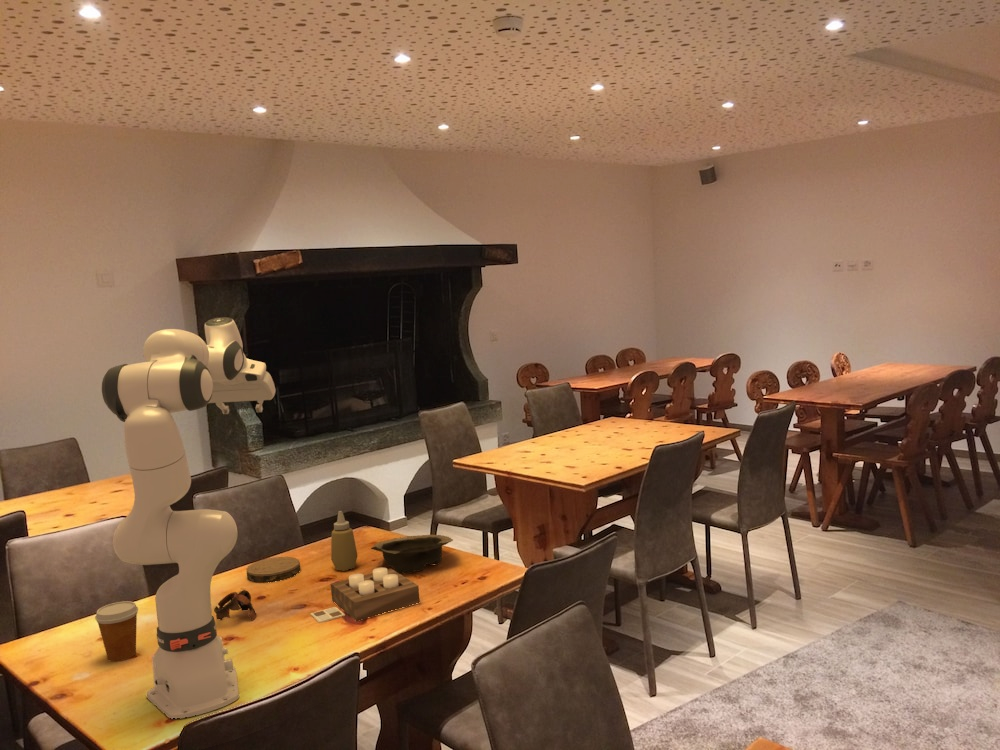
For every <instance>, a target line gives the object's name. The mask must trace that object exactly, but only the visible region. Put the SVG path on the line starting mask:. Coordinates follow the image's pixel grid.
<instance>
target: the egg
mask: <svg viewBox="0 0 1000 750" xmlns="http://www.w3.org/2000/svg"><path fill="white" fill-rule="evenodd" d="M364 575H365V574H363V573H353V574H350V575H349V576H348V579H349V586H350V588H351V589H354V588H357V587H359V585H358V583H359V582H361V581H364Z"/></svg>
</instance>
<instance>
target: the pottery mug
mask: <svg viewBox="0 0 1000 750" xmlns="http://www.w3.org/2000/svg"><path fill="white" fill-rule="evenodd" d="M251 601H252V595H251V593H250V592H249V590H246V589H242V590H240V591H239V592H236V591H233V592H230V593H228V594H227V595H226V596H224V597H223V598H222V599H221V600H220V601H218V603H217V605H218V606H219V607H218V606H217V605H216V606H215V608H213V612H214V613H215V617H216V619H217V620H219V621H222V620H223V619H224V618H230V617H231V616H230V610H231V611H239V610H241V611H249V613H248V614H247V616H248V617H249V618H250V620H251V622H253V621H254V620H255V619H256V616H257V612H256V611H255V608H254V606H253V604H252V602H251Z"/></svg>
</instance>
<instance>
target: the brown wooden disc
mask: <svg viewBox="0 0 1000 750" xmlns="http://www.w3.org/2000/svg"><path fill="white" fill-rule="evenodd" d="M245 570H246V578H247V579H246V580H247V581H249V582H250V583H255V584H268V582H269V584H271V583H276V582H275V581H277V582H281V581H280V580H282V581H285V580H284V579H286V580H288V579H287V578H289V579H291V578H293V577H295V576H297V575H298V574H300V572H301V561H300V560H299V558H296V557H293V556H278V557H277V556H275V557H270V558H269V557H268V558H265V559H261V560H258V561H255V562H253V563H251V564H249V565H248V566H247V567H246V569H245ZM299 571H300V572H299ZM297 573H298V574H297ZM296 574H297V575H296ZM294 575H295V576H294ZM290 577H291V578H290ZM270 582H271V583H270Z"/></svg>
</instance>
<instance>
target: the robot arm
mask: <svg viewBox="0 0 1000 750" xmlns="http://www.w3.org/2000/svg"><path fill="white" fill-rule="evenodd" d="M204 334H205V339H206V340H205V341H204V340H203V339H202V338H201V337H200V336H199V335H198V334H196V333H193V332H191V331H187V330H183V329H178V328H165V329H161V330H157V331H155V332H153V333H151V334H150V335H149V336H148V337H147V339H146V340H145V341H144V344H143V349H142V353H143V358H144V360H145V361H143V362H137V363H131V364H127V363H123V364H119V365H115V366H113V367H111V368H109V369H108V370H107V371H106V373H105V374H104V375H103V378H102V382H101V395H102V399H103V402H104V404H105V405H106V407H107V408H108V410H110V412H111V413H112V414H114V415H115V416H116V417H117V418H118V420H119V421H121V422H122V423H124V425H123V434H124V435H123V437H124V444H125V445H124V447H125V452H126V454H125V455H126V459H127V463H128V464H127V465H128V466H129V471H130V472H129V473H130V475H131V480H132V485H133V492H134V502H133V505H132V508H131V510H130V511H129V513H128V514H127V516H125V518H123V519H122V520H121V521H120V522H119V523H118V525H117V527H116V528H115V529H114V533H113V537H112V546H113V551H114V553H115V555H116V556H117V558H118V559H119V561H121V562H123V563H126V564H131V565H132V564H133V565H142V566H151V565H162V564H163V565H165V564H178V574H176V575H174V576H172V577H171V578H169V579H167V580H166V581H165V582H163V583H162V584H161V585H160V586H159V588H158V589H157V590H156V593H155V597H154V600H155V609H156V618H157V627H156V639H157V645H158V648H157V650H156V651H155V653H154V654H153V656H152V657H151V661H152V663H151V664H152V675H153V685H154V686H153V687H152V688H150V689H149V690H148V691H146V693H145V694H146V699H147V698H148V699H147V700H148V701H150V702H151V703H152V705H154V706H155V705H156V706H157V707H156V706H155V707H156V708H158V709H159V711H161V712H162V714H164V713H165V714H166V716H167V718H169V719H170V718H171V719H170V720H178V719H177V718H180V719H185V717H187V718H190V717H195V715H196V716H199V715H203V714H206V713H209V712H212V711H216V710H218V709H221V708H224V707H225V706H228V705H230V704H232V703H234V702H235V701H237V700H238V699H239V698H240V693H239V683H238V675H237V674H238V673H237V668H236V667H235V666H234V665H233V658H228V659H225V655H227V654H228V655H229V652H228V650H229V649H228V647H224V644H223V638H222V637H220V636H219V635H218V634H217V633H218V632H217V623H216V621H215V616H213V614H212V613H213V612H212V611H213V610H212V602H211V601H212V599H211V597H212V596H211V583H212V579H213V575H214V573H215V571H216V568H217V567H218V566H219V564H220V563H221V561H222V560H223V559H224V558H225V557H227V556H228V555H229V554H230V553H231V552H232V550H233V549H234V547H235V545H236V543H237V539H238V527H237V523H236V521H235V519H234V517H233V516H232V515H231V514H230V513H229V512H227V511H224V510H217V509H209V508H203V509H189V510H173V509H172V508H171V505H173V504H175V503H177V502H178V501H180V500H181V499H183V498H184V497H185V496H186V494H187V493H188V492H189V490H190V488H191V485H192V477H191V473H190V469H189V464H188V459H187V455H186V451H185V447H184V443H183V439H182V436H181V433H180V430H179V427H178V426H177V423H176V421H175V419H174V417H173V415H172V413H179V412H184V411H189V412H191V411H197V410H199V409H203V408H206V406H207V405H208V404H214V403H215V405H216V406H217V407H218V408H219V409H220V410H221V412H222V414H223V415H228V414H229V413H230V406H229V405H225V403H234V402H253V401H255V402H257V403H256V405H255V407H254V409H255V412H256V413H263V410H264V408H263V403H264V401H271V400H272V399H273V398H274V397H275V395H276V391H277V390H276V387H275V382H274V380H273V378H272V377H273V376H271V374H270V372H268V371H267V365H266V362H262V361H258V360H253V359H249V358H247V357H246V354H245V353H244V350H243V347H244V346H243V340H242V337H241V334H240V331H239V329H238V325H237V324H236V322H235V320H234V319H233V318H230V317H224V316H223V317H222V316H221V317H214V318H211V319H208V320H207V321H206V322H204ZM165 714H164V715H165ZM173 718H175V719H173Z"/></svg>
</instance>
